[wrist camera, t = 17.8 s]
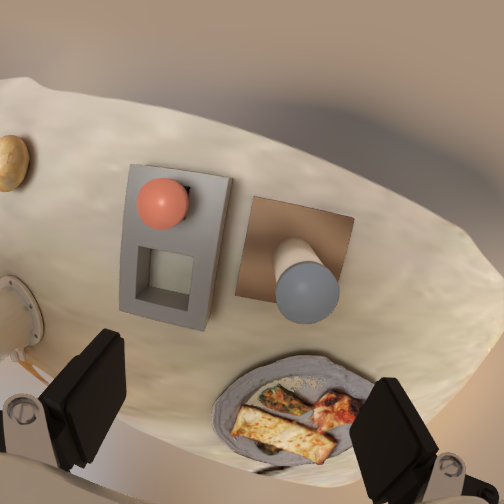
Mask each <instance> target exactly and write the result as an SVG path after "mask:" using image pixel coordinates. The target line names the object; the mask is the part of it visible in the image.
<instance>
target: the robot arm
mask: <svg viewBox="0 0 504 504" xmlns="http://www.w3.org/2000/svg"><path fill="white" fill-rule="evenodd" d="M42 336H43V321H42V316H41V313H40V310H39V307H38V305H37V303H36V301H35V299H34V297H33V295H32V294H31V292H30V291H29V290H28V288H27V287H26V286H25V285H24V284H23V283H22V282H21V281H20V280H19V279H17V278H16V277H14V276H10V275H8V276H4V277H2V278H0V362H1V361H2V360H4V359H5V358H6V357H7V356H8V355H9V354H10V356H11V360H12V361H13V362H18V361H19V360H21V361H25V360H26V356H25V352H24V348H25V347H26V346H34V345H35V344H37V343H38V342H39V341H40V340H41V338H42ZM125 398H126V376H125V353H124V339H123V338H121V337H120V334H119V333H118V332H115V331H112V330H109V329H106V328H105V329H103V330H102V331H101V332H100V333H99V334H98V335H97V336H96V337H95V338H94V339H93V340H92V342H91V343H90V344H89V345H88V346H87V347H86V348H85V349H84V350H83V352H82V353H81V354H80V355H77V356H75V357H74V358H73V359H72V360H71V361H70V362H69V363H68V364H67V365H66V366H65V368H64V369H63V370H62V371H61V372H60V373H59V374H58V376H57V377H56V378H55V379H54V380H53V381H52V383H51V384H50V385H49V386H48V387H47V388H46V389H45V391H44V392H43V393H42V394H41V395H40V396H39V398H38V399H36V398H35V397H34V396H31V395H28V394H17V395H13V396H11V397H10V398H8V399H7V400H6V402H5V403H4V405H3V410H0V504H154V503H151V502H147V501H144V500H141V499H137V498H134V497H131V496H128V495H125V494H122V493H119V492H116V491H113V490H111V489H108V488H105V487H102V486H100V485H98V484H95V483H93V482H90V481H88V480H85V479H83V478H81V477H78V476H76V475H73V474H71V472H70V469H72V467H73V465H74V464H75V465H77V466H79V467H81V468H85V466H86V464H87V463H92V462H93V460H94V458H95V456H96V454H97V452H98V450H99V448H100V446H101V444H102V442H103V440H104V438H105V436H106V434H107V432H108V431H109V429H110V427H111V425H112V423H113V421H114V419H115V417H116V415H117V414H118V412H119V410H120V408H121V406H122V404H123V402H124V400H125ZM349 435H350V439H351V442H352V445H353V448H354V451H355V454H356V458H357V461H358V464H359V467H360V471H361V474H362V477H363V481H364V484H365V487H366V491H367V494H368V497H369V498H370V499H372V501H373V504H384V503H386V502H388V504H504V500H502V499H501V500H500V501H499V495H498V491H497V489H496V488H495V487H494V486H493V485H491V484H489V483H486V482H483V481H481V480H478V479H476V478H473V477H471V476H469V475H466V474H465V472H466V467H465V464H464V462H463V460H462V459H461V458H460V457H459V456H457V455H456V454H454V453H450V452H447V453H442V454H440V455H439V456H438V457H437V455H436V453H437V452H438V450H439V448H438V447H437V445H436V443H435V441H434V440H433V438H432V436H431V434H430V433H429V431H428V429H427V427H426V426H425V424H424V422H423V421H422V419H421V417H420V415H419V414H418V412H417V410H416V409H415V407H414V405H413V404H412V402H411V401H410V399H409V397H408V396H407V394H406V392H405V391H404V389H403V388H402V386H401V384H400V383H399V381H398V380H397V379H396V378H389V377H383V378H381V379H380V380H379V381H377V382H376V383H375V385H374V387H373V388H372V390H371V392H370V394H369V396H368V398H367V399H366V401H365V403H364V405H363V406H362V408H361V410H360V412H359V413H358V415H357V417H356V418H355V420H354V422H353V423H352V425H351V427H350V429H349Z"/></svg>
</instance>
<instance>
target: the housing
mask: <svg viewBox="0 0 504 504" xmlns="http://www.w3.org/2000/svg"><path fill="white" fill-rule="evenodd" d="M157 178H170V179H173V180H176V181H178V182H179V183H180V184H181V185H182V186H188V187H190V192H189V207H188V211H187V214H186V216H185V217H184V219H183V220H182V221H181V222H180V223H178V224H177V225H175V226H173V227H171V228H169V229H166V230H156V229H153V228H150V227H149V226H147V225H146V224H145V223H144V222H143V221H142V220H141V218H140V216H139V214H138V211H137V197H138V194H139V192H140V190H141V188H142V187H143V186H144V185H145V184H146V183H147V182H149V181H151V180H153V179H157ZM232 181H233V178H229V177H224V176H218V175H212V174H205V173H199V172H192V171H185V170H178V169H171V168H164V167H156V166H148V165H136V164H130V169H129V176H128V183H127V190H126V198H125V207H124V217H123V228H122V240H121V257H120V284H119V311H123V312H126V313H130V314H134V315H137V316H141V317H145V318H149V319H152V320H156V321H160V322H164V323H168V324H173V325H177V326H181V327H185V328H190V329H194V330H199V331H203V332H204V330H205V327H206V325H207V322H208V319H209V316H210V312H211V305H212V299H213V292H214V286H215V279H216V273H217V267H218V260H219V254H220V248H221V242H222V237H223V231H224V225H225V219H226V214H227V208H228V202H229V197H230V191H231V186H232ZM151 248H152V249H157V250H162V251H167V252H172V253H177V254H181V255H186V256H191V257H194V263H193V271H192V278H191V287H190V295H186V294H181V293H177V292H172V291H168V290H163V289H159V288H155V287H151V286H148V279H149V266H150V254H151Z"/></svg>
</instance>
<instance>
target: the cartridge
mask: <svg viewBox="0 0 504 504" xmlns="http://www.w3.org/2000/svg"><path fill="white" fill-rule="evenodd" d="M273 264H274V270H275V277H276V290H275V294H276V302H277V306H278V308H279V310H280V312H281V313H282V314H283V315H284V316H285V317H286V318H287V319H289V320H290V321H292V322H295V323H299V324H312V323H316V322H318V321H321V320H322V319H324V318H326V317H327V316H328V315H329V314H330V313H331V312H332V311H333V310H334V308H335V306H336V305H337V302H338V299H339V285H338V282H337V280H336V278H335V277H334V276H333V274H332V273H331V271H330V270H329V269H328V268H327V267H325V266H324V265H323V264H322V262H321V261H320V260H319V258H318V257H317V255H316V254H315V252H314V251H313V249H312V248H311V247H310V245H309V244H308V243H307V242H306V241H304V240H302V239H299V238H289V239H286V240H284V241H282V242H281V243H280V244H278V246H277V247H276V249H275V251H274V253H273Z"/></svg>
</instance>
